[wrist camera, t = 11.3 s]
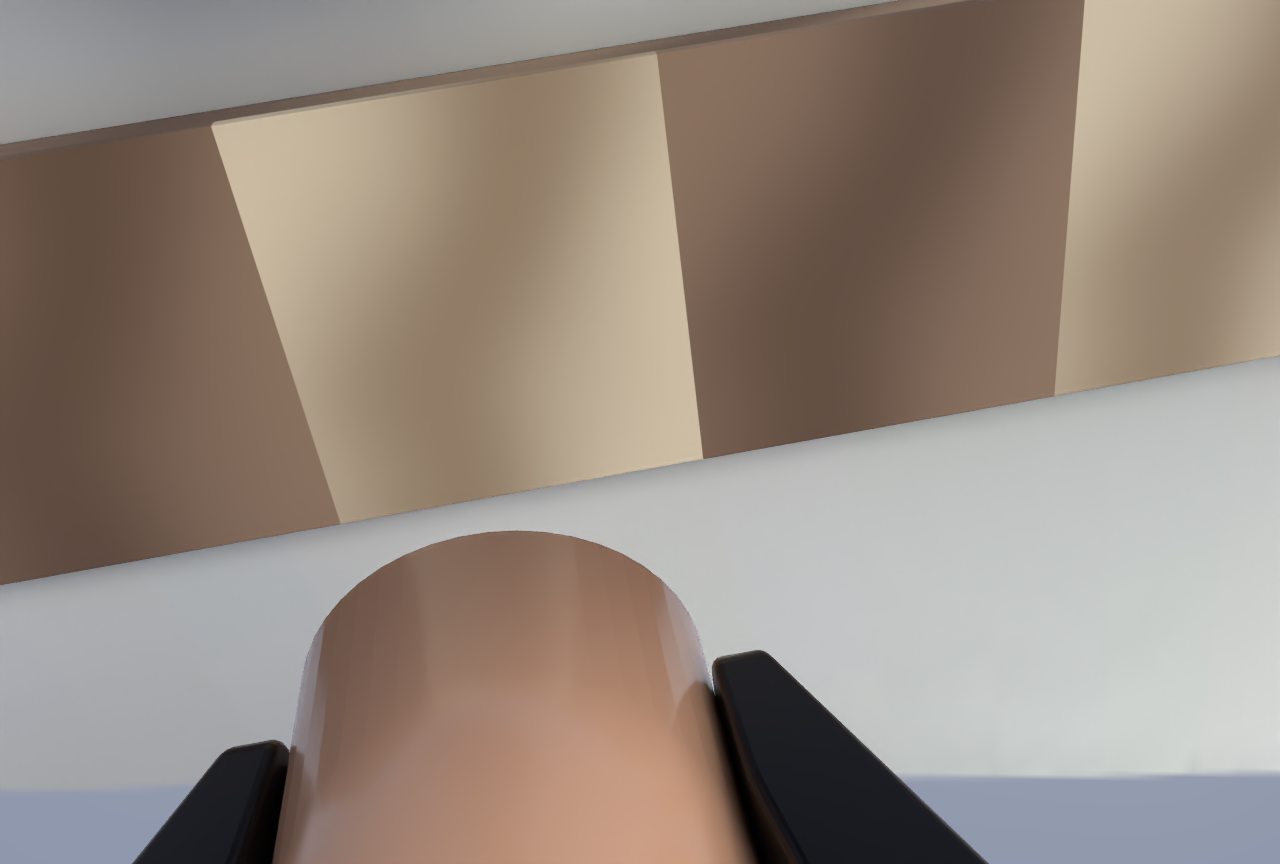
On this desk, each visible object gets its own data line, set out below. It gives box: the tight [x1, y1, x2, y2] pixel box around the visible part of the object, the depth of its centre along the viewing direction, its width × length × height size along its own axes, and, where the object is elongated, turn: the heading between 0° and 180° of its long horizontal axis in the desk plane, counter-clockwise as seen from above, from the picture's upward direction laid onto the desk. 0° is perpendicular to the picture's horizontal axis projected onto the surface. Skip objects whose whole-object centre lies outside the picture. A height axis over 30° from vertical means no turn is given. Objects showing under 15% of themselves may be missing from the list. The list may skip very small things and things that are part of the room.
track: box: [0, 0, 1280, 585], centre depth 16 cm, size 22×6×1 cm, turn 97°
